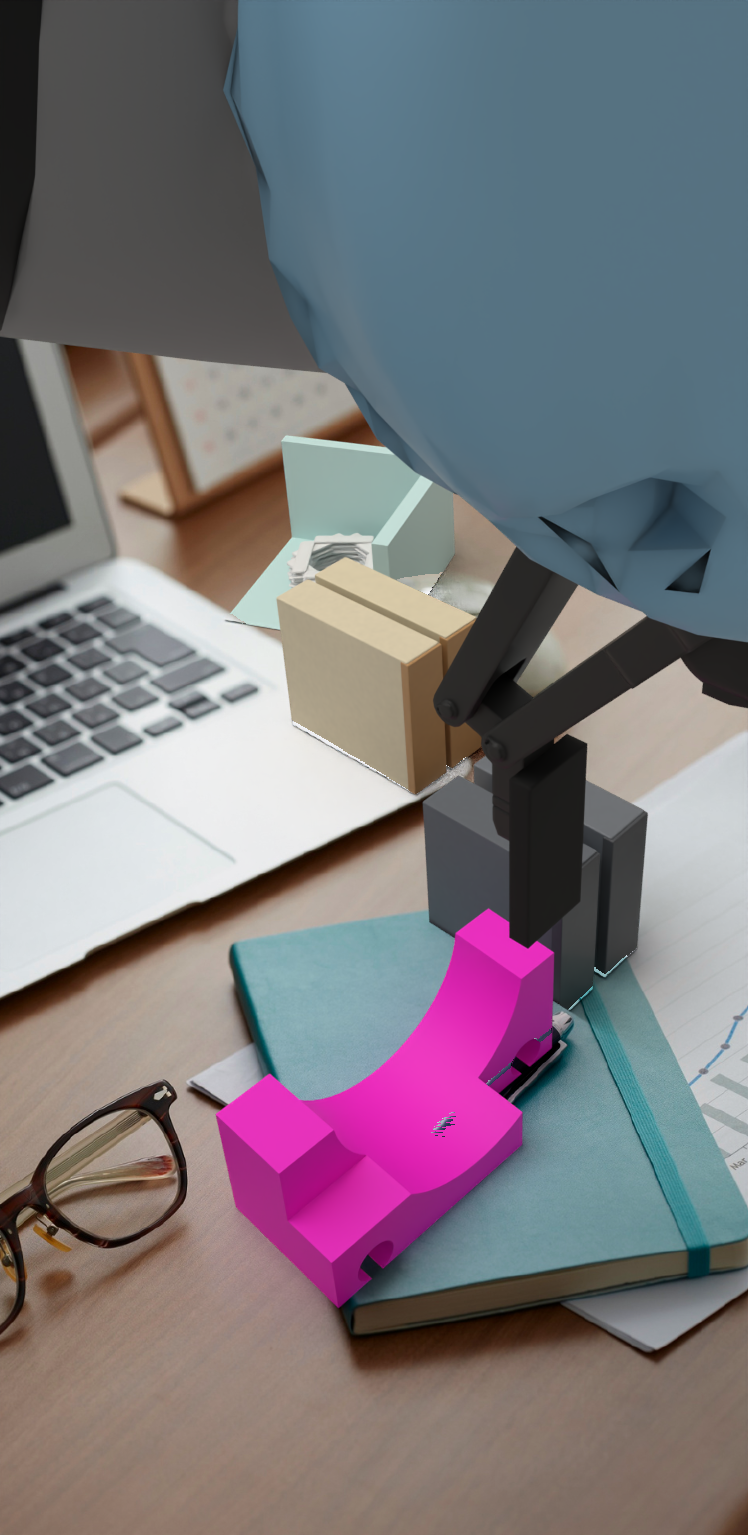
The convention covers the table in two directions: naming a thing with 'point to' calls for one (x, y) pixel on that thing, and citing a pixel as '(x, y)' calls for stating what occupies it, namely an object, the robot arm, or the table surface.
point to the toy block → (396, 1121)
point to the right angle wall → (352, 520)
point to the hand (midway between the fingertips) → (730, 1028)
